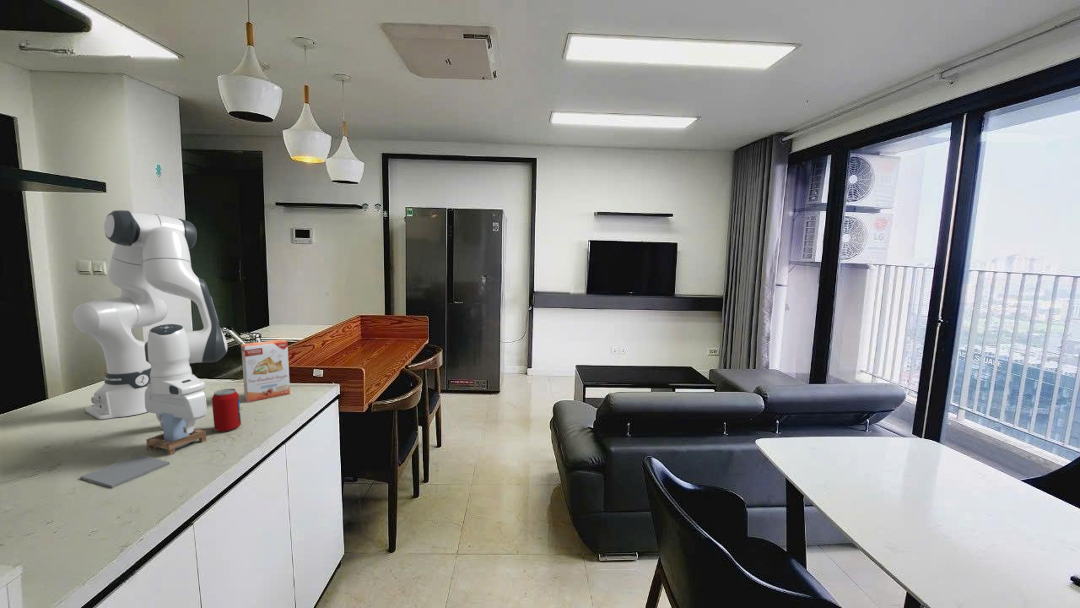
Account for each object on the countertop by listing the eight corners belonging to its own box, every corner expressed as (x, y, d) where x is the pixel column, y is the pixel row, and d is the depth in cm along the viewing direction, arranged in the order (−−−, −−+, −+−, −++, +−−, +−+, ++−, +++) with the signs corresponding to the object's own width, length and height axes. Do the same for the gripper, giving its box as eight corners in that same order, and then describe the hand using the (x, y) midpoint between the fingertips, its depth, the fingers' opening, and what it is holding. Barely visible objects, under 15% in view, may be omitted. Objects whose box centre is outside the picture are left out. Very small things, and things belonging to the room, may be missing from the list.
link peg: (164, 447, 122) (161, 413, 121) (180, 441, 126) (177, 408, 125) (174, 449, 121) (171, 415, 120) (190, 443, 125) (186, 410, 123)
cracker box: (248, 402, 157) (243, 346, 155) (244, 398, 162) (240, 343, 159) (291, 394, 167) (287, 340, 164) (286, 390, 171) (283, 338, 169)
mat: (80, 478, 105) (80, 476, 105) (139, 456, 117) (139, 454, 117) (111, 487, 101) (111, 485, 101) (169, 464, 113) (169, 461, 113)
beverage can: (246, 424, 138) (243, 388, 137) (229, 433, 131) (226, 395, 130) (226, 423, 139) (223, 387, 137) (208, 432, 132) (205, 394, 131)
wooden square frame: (147, 449, 121) (146, 439, 120) (184, 436, 129) (183, 426, 129) (170, 455, 118) (169, 444, 117) (206, 440, 126) (205, 431, 126)
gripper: (134, 382, 122) (140, 429, 123) (184, 390, 115) (189, 439, 117) (160, 376, 128) (165, 421, 129) (209, 383, 121) (213, 430, 123)
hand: (177, 430), depth 123 cm, fingers open, 8 cm apart
